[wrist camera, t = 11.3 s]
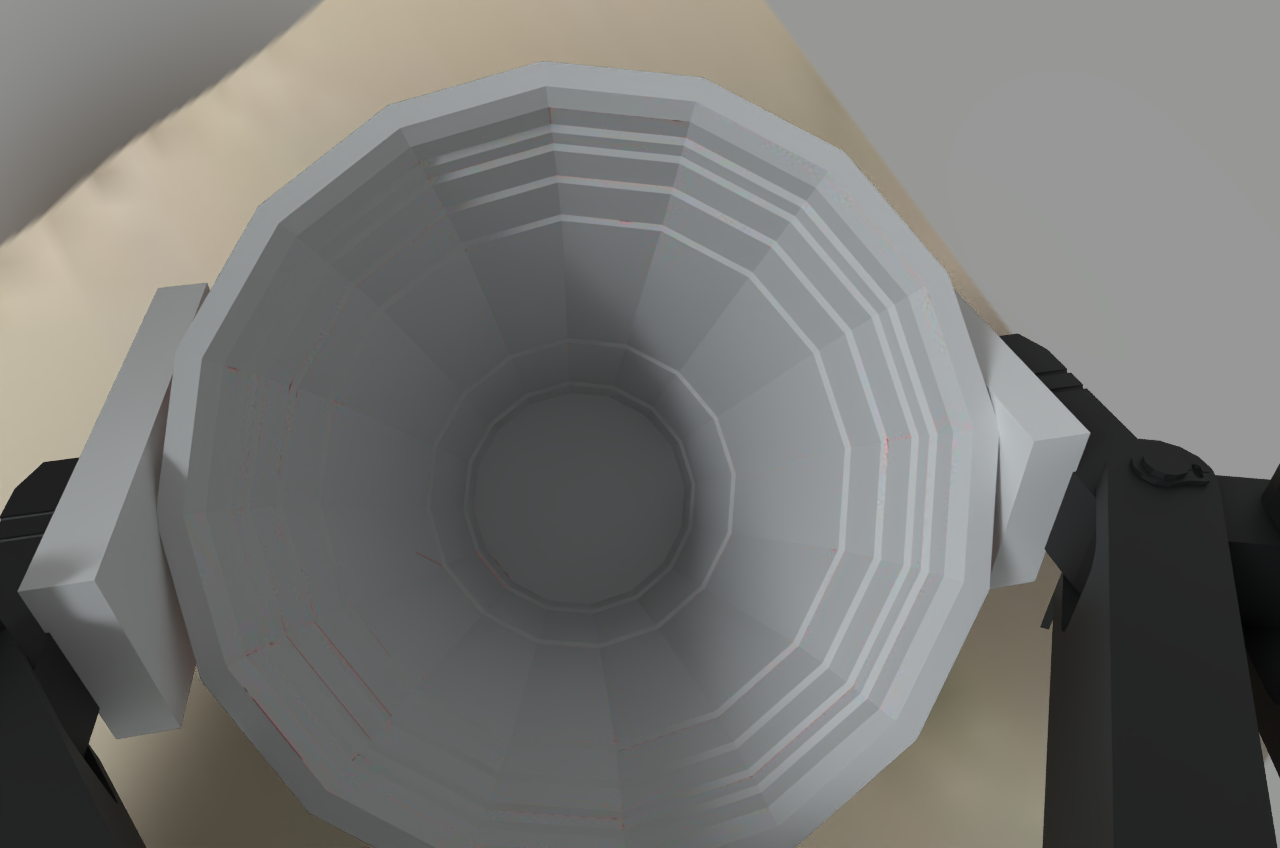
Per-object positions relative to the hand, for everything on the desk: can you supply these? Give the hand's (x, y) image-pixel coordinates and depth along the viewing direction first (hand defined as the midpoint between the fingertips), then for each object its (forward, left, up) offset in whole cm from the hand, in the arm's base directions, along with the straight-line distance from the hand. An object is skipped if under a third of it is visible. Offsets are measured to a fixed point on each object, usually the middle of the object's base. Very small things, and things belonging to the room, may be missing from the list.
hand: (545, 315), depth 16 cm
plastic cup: (0, -3, -7) cm, 8 cm away
